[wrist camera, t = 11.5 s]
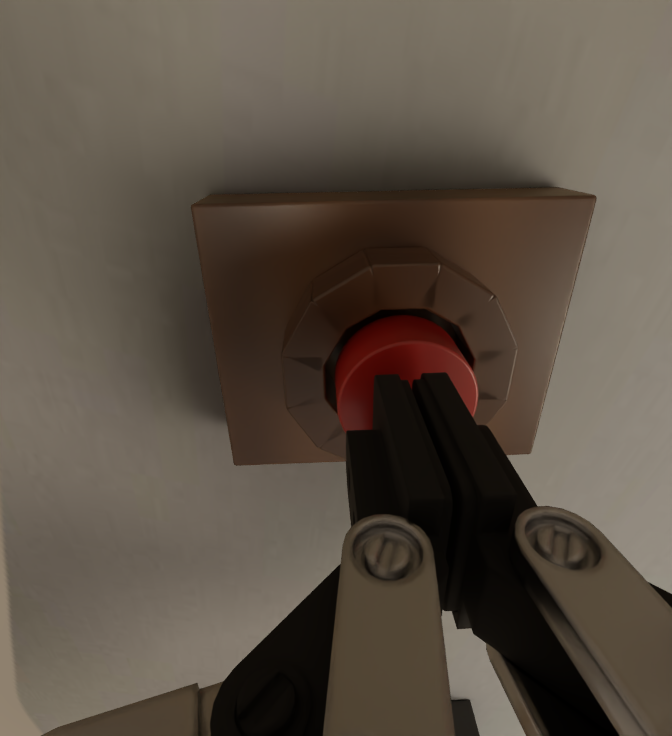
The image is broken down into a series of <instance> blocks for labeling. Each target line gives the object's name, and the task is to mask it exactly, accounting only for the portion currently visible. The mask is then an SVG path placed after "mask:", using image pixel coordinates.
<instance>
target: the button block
mask: <svg viewBox="0 0 672 736" xmlns="http://www.w3.org/2000/svg"><path fill="white" fill-rule="evenodd" d="M595 203H596V196H595V195H592V194H587V193H583V192H578V191H573V190H568V189H564V188H559V187H539V188H493V189H446V190H400V191H353V192H307V193H260V194H214V195H208V196H207V197H205V198H203V199H201V200H199V201H198V202H196V203H194V204H192V205H191V211H192V217H193V223H194V229H195V235H196V241H197V247H198V253H199V259H200V265H201V271H202V277H203V283H204V289H205V295H206V301H207V307H208V313H209V319H210V325H211V330H212V336H213V342H214V348H215V354H216V360H217V366H218V372H219V378H220V384H221V390H222V396H223V402H224V408H225V414H226V420H227V426H228V432H229V438H230V444H231V450H232V456H233V462H234V465H236V466H237V465H262V464H288V463H313V462H339V461H346V433H345V432H344V430H343V428H342V426H341V424H340V421H339V417H338V412H337V400H336V387H335V367H336V362H337V359H338V356H339V354H340V352H341V350H342V348H343V346H344V345H345V344H346V342H347V341H348V340H349V339H350V338H351V336H352V335H353V334H355V333H356V332H357V331H358V330H359V329H361V328H362V327H364V326H365V325H367V324H369V323H371V322H373V321H375V320H378V319H381V318H384V317H389V316H396V315H411V316H417V317H421V318H424V319H427V320H429V321H432V322H434V323H435V324H437V325H439V326H440V327H441V328H442V329H444V330H445V331H446V332H447V333H448V334H449V336H450V337H451V338H452V340H453V341H454V343H455V344H456V346H457V347H458V348H459V350H460V351H461V353H462V354H463V356H464V357H465V359H466V360H467V362H468V363H469V365H470V367H471V368H472V370H473V372H474V374H475V377H476V379H477V384H478V403H477V407H476V411H475V414H474V416H473V419H474V420H475V422H476V424H477V425H486V426H488V428H489V429H490V430H491V432H492V433H493V435H494V436H495V438H496V440H497V441H498V443H499V445H500V446H501V448H502V449H503V451H504V453H505V454H506V455H517V454H530V453H531V451H532V447H533V443H534V440H535V436H536V432H537V428H538V424H539V420H540V416H541V412H542V409H543V405H544V401H545V397H546V393H547V389H548V385H549V381H550V377H551V374H552V370H553V366H554V362H555V358H556V354H557V350H558V346H559V342H560V339H561V335H562V331H563V327H564V323H565V319H566V315H567V311H568V308H569V304H570V300H571V296H572V292H573V288H574V284H575V280H576V276H577V273H578V269H579V265H580V261H581V257H582V253H583V249H584V245H585V241H586V238H587V234H588V230H589V226H590V222H591V218H592V214H593V210H594V206H595Z"/></svg>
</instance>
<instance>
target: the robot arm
mask: <svg viewBox="0 0 672 736" xmlns="http://www.w3.org/2000/svg"><path fill="white" fill-rule="evenodd" d="M346 472H347V488H348V499H349V509H350V519H351V528H350V530H349V531H348V532H347V534H346V536H345V539H344V543H343V547H342V557H341V564H340V565H339V566H338V567H337V568H336V569H335V570H334V571H333V572H332V573H331V574H330V575H329V576H328V577H327V578H326V579H324V580H323V581H322V582H321V583H320V584H319V585H318V586H317V587H316V588H315V589H314V590H313V591H312V592H311V593H310V594H309V595H308V596H307V597H306V598H305V599H304V600H303V601H302V602H301V603H300V604H299V605H298V606H297V607H296V608H295V609H294V610H293V611H292V612H291V613H290V614H289V615H288V616H287V617H286V618H285V619H284V620H283V621H282V622H281V623H280V624H279V625H278V626H277V627H276V628H275V629H274V630H273V631H272V632H271V633H270V634H269V635H268V636H267V637H265V638H264V639H263V640H262V641H261V642H260V643H259V644H258V645H257V646H256V647H255V648H254V649H253V650H252V651H251V652H250V653H249V654H248V655H247V656H246V657H245V658H244V659H243V660H242V661H241V662H240V663H239V664H238V665H237V666H236V667H235V668H234V669H233V670H232V672H231V673H230V674H229V675H228V677H227V678H226V679H225V681H223V682H220V683H217V684H214V685H211V686H208V687H205V688H202V689H199V687H198V683H195V684H192V685H189V686H186V687H183V688H180V689H176V690H173V691H170V692H167V693H164V694H161V695H158V696H154V697H151V698H148V699H145V700H142V701H139V702H136V703H132V704H129V705H126V706H123V707H120V708H117V709H114V710H111V711H107V712H104V713H101V714H98V715H95V716H92V717H89V718H85V719H82V720H79V721H76V722H73V723H70V724H67V725H63V726H60V727H57V728H55V729H53V730H51V731H49V732H47V733H45V734H43V735H41V736H455V730H454V721H453V713H452V704H451V696H450V687H449V679H448V670H447V662H446V653H445V645H444V636H443V628H442V619H441V616H442V610H444V611H452V613H453V616H454V620H455V623H456V627H457V629H466V628H472V631H473V634H474V635H476V636H477V637H479V638H480V639H481V640H483V641H484V642H485V643H486V650H487V653H488V656H489V659H490V662H491V664H492V666H493V668H494V670H495V672H496V674H497V676H498V678H499V680H500V682H501V684H502V686H503V689H504V691H505V693H506V695H507V697H508V699H509V701H510V703H511V705H512V707H513V709H514V711H515V713H516V715H517V717H518V720H519V722H520V724H521V726H522V728H523V730H524V732H525V734H526V736H672V594H670V593H668V592H666V591H665V590H663V589H661V588H659V587H657V586H655V585H653V584H651V583H649V582H647V581H646V580H645V579H644V578H643V576H642V575H641V574H640V573H639V572H638V571H637V570H636V569H635V568H634V567H633V566H632V565H631V564H630V562H629V561H628V560H627V559H626V558H625V557H624V556H623V555H622V554H621V553H620V552H619V551H618V550H617V548H616V547H615V546H614V545H613V544H612V543H611V542H610V541H609V540H608V539H607V538H606V537H605V536H604V534H603V533H602V532H601V531H600V530H598V529H597V528H596V527H595V526H594V525H593V524H592V523H590V522H589V521H587V520H586V519H584V518H582V517H581V516H579V515H577V514H575V513H572V512H570V511H567V510H564V509H562V508H556V507H550V506H537V505H536V503H535V501H534V500H533V498H532V497H531V495H530V493H529V492H528V490H527V488H526V487H525V485H524V484H523V482H522V480H521V479H520V477H519V475H518V474H517V472H516V471H515V469H514V467H513V466H512V464H511V462H510V461H509V459H508V458H507V456H506V454H505V453H504V451H503V449H502V448H501V446H500V445H499V443H498V441H497V440H496V438H495V436H494V435H493V433H492V432H491V430H490V429H489V428H488V426H486V425H477V424H476V422H475V420H474V419H473V417H472V415H471V413H470V412H469V410H468V408H467V407H466V405H465V403H464V401H463V400H462V398H461V396H460V394H459V393H458V391H457V389H456V388H455V386H454V384H453V382H452V381H451V379H450V377H449V375H448V374H447V373H446V372H439V373H422V374H421V377H420V379H414V380H413V383H412V389H411V387H410V384H409V382H408V380H401V379H400V376H399V374H385V375H375V376H374V392H373V426H372V429H371V430H347V431H346Z"/></svg>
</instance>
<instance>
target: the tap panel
mask: <svg viewBox="0 0 672 736" xmlns="http://www.w3.org/2000/svg"><path fill="white" fill-rule="evenodd" d="M451 704H452V713H453V721H454V730H455V736H480V735H479V732H478V728H477V724H476V721H475V717H474V713H473V710H472V706H471V702H470V700H465V701H451Z"/></svg>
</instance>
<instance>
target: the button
mask: <svg viewBox="0 0 672 736" xmlns="http://www.w3.org/2000/svg"><path fill="white" fill-rule="evenodd" d="M439 372H446V373H447V374H448V375H449V377H450V379H451V381H452V382H453V384H454V386H455V388H456V389H457V391H458V393H459V394H460V396H461V398H462V400H463V401H464V403H465V405H466V407H467V408H468V410H469V412H470V413H471V415H472V417H473V416H474V414H475V411H476V407H477V403H478V384H477V379H476V377H475V374H474V372H473V370H472V368H471V367H470V365H469V363H468V362H467V360H466V359H465V357H464V356H463V354H462V353H461V351H460V350H459V348H458V347H457V346H456V344H455V343H454V341H453V340H452V338H451V337H450V336H449V334H448V333H447V332H446V331H445V330H444V329H442V328H441V327H440V326H439V325H437V324H435V323H434V322H432V321H429V320H427V319H424V318H421V317H417V316H411V315H396V316H389V317H384V318H381V319H378V320H375V321H373V322H371V323H369V324H367V325H365V326H364V327H362V328H361V329H359V330H358V331H357V332H356V333H355V334H353V335H352V336H351V338H350V339H349V340H348V341H347V342H346V344H345V345H344V346H343V348H342V350H341V352H340V354H339V356H338V359H337V362H336V367H335V387H336V400H337V412H338V417H339V421H340V424H341V426H342V428H343V430H344V432H345V433H346V431H347V430H371V429H372V426H373V392H374V376H375V375H385V374H399V376H400V379H401V380H408V382H409V384H410V387H411V389H412V383H413V380H414V379H420V377H421V374H422V373H439Z"/></svg>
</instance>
